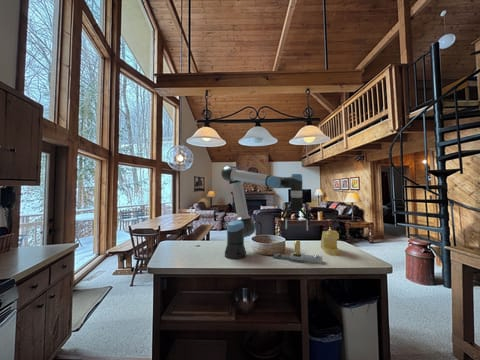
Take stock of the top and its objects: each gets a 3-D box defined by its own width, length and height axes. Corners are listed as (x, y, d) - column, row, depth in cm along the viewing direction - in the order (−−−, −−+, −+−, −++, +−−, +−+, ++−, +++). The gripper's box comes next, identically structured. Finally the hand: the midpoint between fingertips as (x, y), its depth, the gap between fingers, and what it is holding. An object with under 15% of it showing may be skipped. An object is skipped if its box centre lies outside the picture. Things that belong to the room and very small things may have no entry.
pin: (294, 260, 141) (294, 241, 141) (295, 258, 144) (294, 240, 145) (300, 260, 139) (299, 242, 140) (300, 259, 143) (300, 240, 143)
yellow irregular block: (341, 255, 151) (340, 232, 151) (327, 255, 152) (326, 232, 153) (333, 248, 170) (332, 227, 171) (320, 247, 172) (320, 227, 173)
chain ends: (272, 258, 144) (272, 253, 144) (275, 255, 152) (275, 249, 152) (322, 264, 132) (322, 258, 132) (322, 260, 140) (322, 254, 140)
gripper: (276, 196, 145) (276, 228, 144) (316, 197, 136) (316, 232, 135) (279, 196, 152) (278, 227, 151) (316, 197, 143) (316, 230, 142)
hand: (296, 229), depth 143 cm, fingers open, 13 cm apart
